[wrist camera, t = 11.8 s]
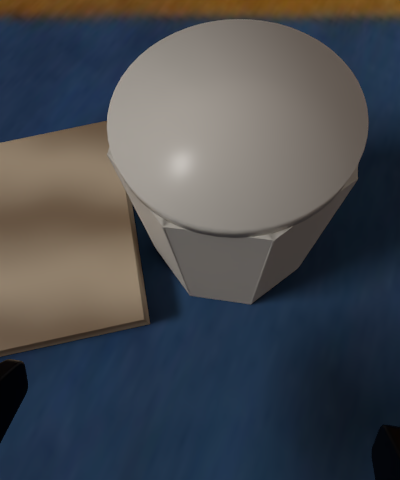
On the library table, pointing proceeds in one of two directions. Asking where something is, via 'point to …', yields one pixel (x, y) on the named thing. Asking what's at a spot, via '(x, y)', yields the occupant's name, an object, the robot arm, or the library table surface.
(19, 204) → the cork pad
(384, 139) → the library table surface
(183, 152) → the white faceted jar
